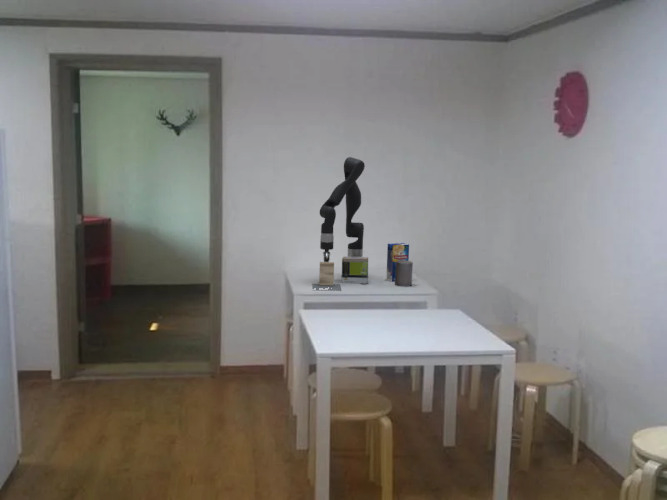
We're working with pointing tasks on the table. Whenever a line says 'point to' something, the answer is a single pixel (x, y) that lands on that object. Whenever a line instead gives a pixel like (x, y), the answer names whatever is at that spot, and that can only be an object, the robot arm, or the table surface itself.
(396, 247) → the blue food box
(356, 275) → the tea box
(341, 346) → the table surface
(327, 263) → the block
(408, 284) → the pillar candle
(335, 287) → the mat
